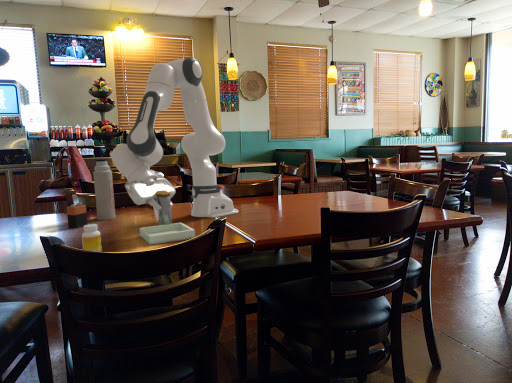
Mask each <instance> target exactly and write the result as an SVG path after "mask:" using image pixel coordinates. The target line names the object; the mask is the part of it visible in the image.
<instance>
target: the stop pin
mask: <svg viewBox="0 0 512 383" xmlns="http://www.w3.org/2000/svg"><path fill="white" fill-rule="evenodd" d="M156 194H157V198H158V201H157V203H158V204H161V205H162V206H163V208H162V209H161V210H157V213H158V224H159V225H169V224H173V221H172V220H173V219H172V207H171V202H172V201H171V196H170V194H172V190H159V191H156Z"/></svg>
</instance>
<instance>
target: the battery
mask: <svg viewBox="0 0 512 383" xmlns="http://www.w3.org/2000/svg"><path fill="white" fill-rule="evenodd" d="M66 214H67V226H68V228H69V229H78V228H82V227H83V226H84V225H88V218H87V217H88V215H87V206H86V204H83V203H82V202H76V204H75V203H74V204H70V205H69V206H66Z"/></svg>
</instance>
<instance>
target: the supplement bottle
mask: <svg viewBox="0 0 512 383" xmlns="http://www.w3.org/2000/svg"><path fill="white" fill-rule="evenodd" d="M82 227H83V233H81V241H82V250H83V249H84V250H92V251H102V252H103V247H102V234H101V231H99V230H98V223H87V225H84V226H82Z"/></svg>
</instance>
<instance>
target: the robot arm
mask: <svg viewBox="0 0 512 383" xmlns="http://www.w3.org/2000/svg"><path fill="white" fill-rule="evenodd" d="M150 70H151V71H150V73H149V75H148V77H147V81H146V85H145V89H144V94H143V98H142V101H141V102H140V106H139V108H138V109H139V110H138V112H137V116H136V119H135V122H134V124H133V127H132V128H131V130H130V131H129V132H128V134H127V136H126V140H125V141H126V143H120V144H118V145H117V146H115V147H114V148H113V150H112V153H111V156H110V157H111V160H112V163H113V165H114V166H115V168H116V169H117V170H118V171H119V173H120V174H121V175H122V176H123V177H124V178H126V181H127V182H125V184H124V188H125V189H126V191H127V194H128V196H129V198H130V199H131V200H132V202H133V203H134V204H136V205H137V206H140V205H145V204H148V205H150V206H151V207H153V208H154V209H155V210H156V211H158V210H161V209H162V208H163V206H162V205H161V204H158V198H157V194H156V191H159V190H172V194H170V196H171V198H173V197H174V196H175V194H176V193H177V192H176V189H175V187H174V186H173V185H172V183H171V182H170V181H169V180H168V179H167V178H165V177H164V176H165V175H164V174H163V173H162V172H160V171H155V170H153V169H150V168H151V167H153V166H155V165H156V164H157V163H159V162H160V161H161V160H162V159H163V155H164V150H163V147H162V146H161V143H160V142H159V140H158V139H157V138H156V137H157V136H156V134H155V129H154V127H155V123H156V119H157V115H158V112H164V111H166V110H168V109H170V108H171V107H172V106H171V105H172V103H173V101H174V95H175V91H176V90H175V89H179V90H180V91H179V93H180V99H181V100H180V101H181V105H182V109H183V114H184V117H185V122H186V123H188V125H190V126H191V128H192V132H191V133H187V134H186V135H184V136H183V137H182V139H181V142H180V146H181V149H182V151H183V152H184V153H185V154H186V157H187V158H188V161H189V163H190V167H191V173H192V189H191V193H192V194H191V195H192V197H193V198H192V199H193V201H192V210H191V214H190V215H191V216H192V217H196V218H217V217H219V218H220V217H223V216H230V215H235V214H238V213H239V210H238V209H237V208H235V207H234V202H233V200H232V199H231V198H230V197H228V196H227V195H226V194H224V193H223V192H221V190H222V191H223V190H224V189H225V186H224V185H219V184H217V169H216V166H215V165H214V163H212V161H211V159H210V156H216V155H218V154H221V153H223V151H224V150H225V149H226V144H227V143H226V139H225V137H224V134H222V133H221V132H220V131H219V130H218V129H217V128H216V126H215V124H214V123H213V120H212V118H211V114H210V111H209V110H210V109H209V107H208V100H207V97H206V93H205V89H204V86H203V84H202V79H203V66H202V65H201V63H200V62H199V61H198V59H196V58H194V57H186V58H180V59H174V60H172V61H169V62H166V63H165V62H158V63H156V64H154V65H153V66H152V67H151V69H150ZM173 206H174V203H173V202H172V201H171V208H172V207H173Z"/></svg>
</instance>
